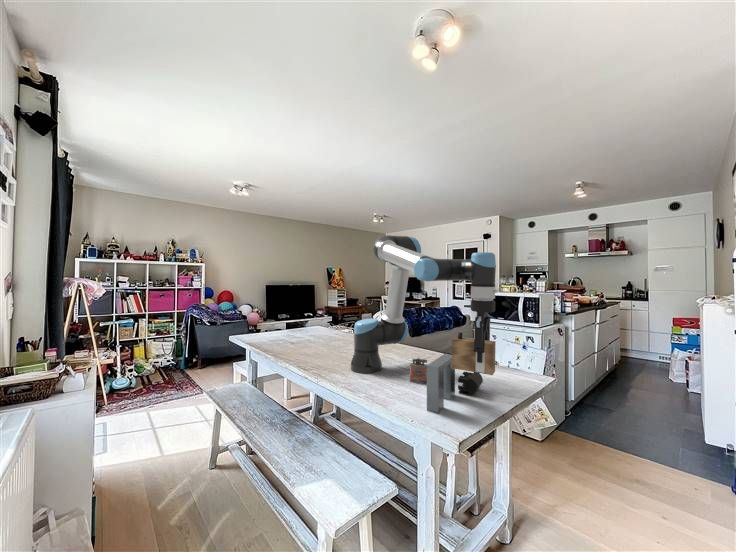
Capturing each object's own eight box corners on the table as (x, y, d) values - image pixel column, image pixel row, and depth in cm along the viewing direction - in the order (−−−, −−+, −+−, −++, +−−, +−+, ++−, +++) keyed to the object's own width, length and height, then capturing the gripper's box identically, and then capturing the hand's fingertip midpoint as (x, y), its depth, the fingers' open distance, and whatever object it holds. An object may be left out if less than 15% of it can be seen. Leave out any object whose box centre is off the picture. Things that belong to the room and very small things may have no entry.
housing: (425, 410, 104) (425, 365, 104) (443, 392, 119) (443, 353, 119) (438, 413, 101) (438, 367, 101) (454, 395, 116) (454, 355, 116)
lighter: (408, 382, 131) (408, 358, 130) (410, 379, 134) (410, 356, 134) (427, 384, 128) (427, 360, 127) (429, 382, 131) (429, 358, 131)
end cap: (477, 397, 114) (477, 379, 114) (457, 394, 118) (457, 376, 118) (482, 389, 123) (482, 372, 123) (464, 385, 126) (464, 369, 126)
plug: (452, 368, 106) (452, 333, 105) (455, 364, 110) (456, 331, 109) (492, 375, 99) (492, 337, 99) (495, 371, 103) (495, 335, 102)
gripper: (489, 302, 93) (488, 379, 93) (499, 298, 108) (498, 364, 108) (464, 300, 97) (463, 375, 97) (477, 296, 112) (476, 361, 112)
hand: (482, 369), depth 103 cm, fingers closed on plug, 4 cm apart
